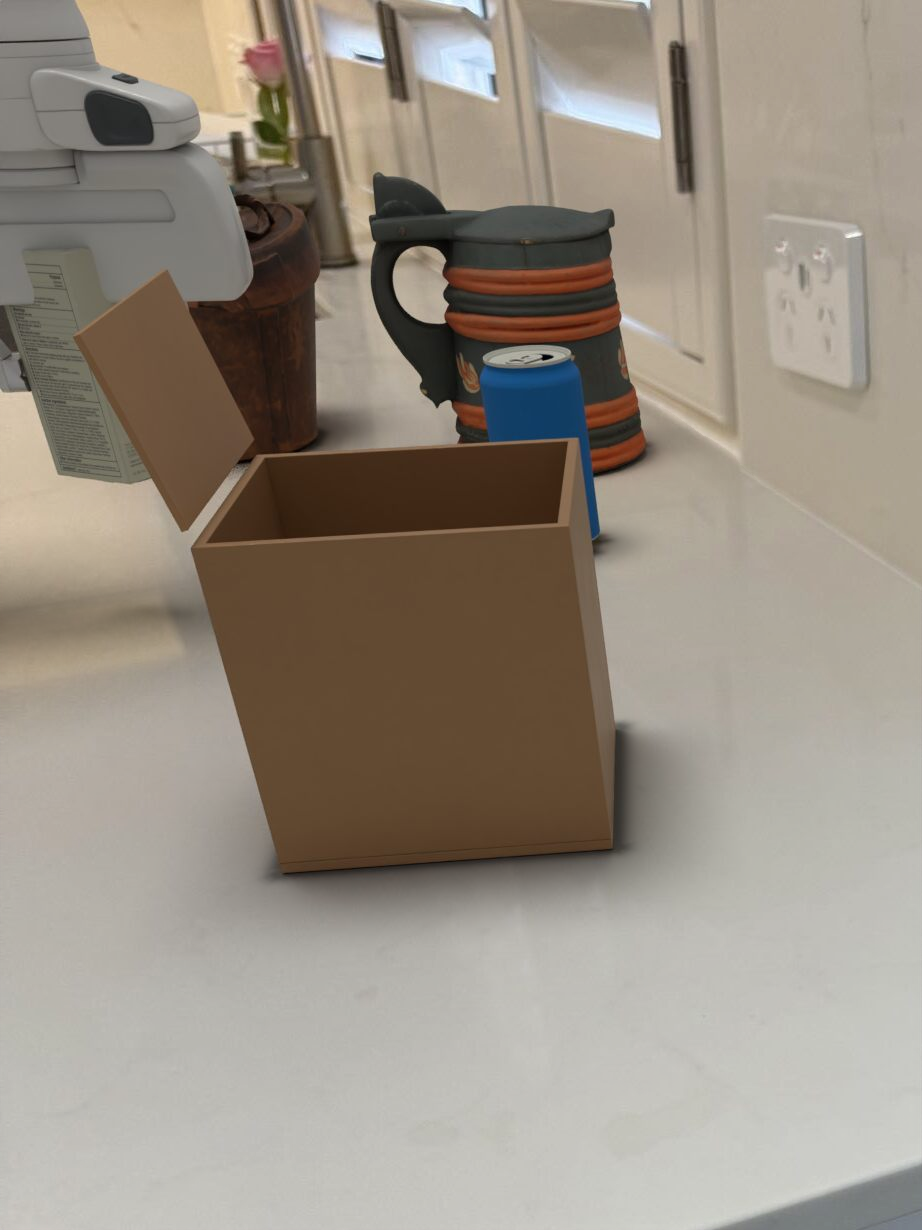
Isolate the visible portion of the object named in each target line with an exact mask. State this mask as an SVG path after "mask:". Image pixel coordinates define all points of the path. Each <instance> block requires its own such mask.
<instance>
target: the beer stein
mask: <svg viewBox="0 0 922 1230" xmlns="http://www.w3.org/2000/svg"><path fill="white" fill-rule="evenodd" d="M372 190H373V200H374V202H373V203H374V211H375V214H370V215H369V216H368V224H369V228H370V233H371V239H372V242H375V244H374V248H373V251H372V256H371V265H370V289H371V290H370V291H371V294H372V295H371V296H372V298H373V303H374V307H375V309H376V312H377V315H378V317H379V320H380V321H381V324H382V326H383V328H384V329H385V331H386V332H387V334H388V336H389V338H390V339H391V341H392V342H393V343H394V345H395V346H396V347H397V349H398V350H399V352H400V353H401V355H402V356H403V358H405V360H406V361H407V362H408V363H409V364H410V365H411V366H412V367H413V369H414V370H415V371H416V372H417V374H419V377H420V378H421V382H420V383H419V391H420V392H421V394H422V395H423V396H424V397H425V398H426V399H428V400H430V401H431V402H432V403H433V404H434V406H435V409H438V408H439V407H440V405H441V404H442V403H445V402H448V401H449V402H450V404H451V408H452V410H453V411H454V413H455V414H456V415H457V416H456V418H455V431H456V432H457V434H458V435H459V438H458V441H457V444H469V443H487V442H489V436H488V430H487V424H486V418H485V412H484V406H483V399H482V393H481V387H480V375H481V373H482V371H483V368H484V366H485V363H484V362H483V356H484V355H486V354H487V353H489V352H492V351H495V350H499V349H504V348H509V347H517V346H529V345H549V346H559V347H563V348H567V349H569V350H570V351H571V357H570V358H571V360H572V361H573V363H574V364H575V365H576V366H577V368H578V369H579V371H580V374H581V382H582V390H583V398H584V406H585V414H586V422H587V430H588V438H589V446H590V454H591V462H592V470H593V474H598V473H601V472H602V473H603V472H606V471H610V470H613V469H617V468H620V467H623V466H625V465H628V464H629V463H632V462H633V461H635V460H637V459H638V458H639V457H640V456H642V454H643V453H644V450H645V447H646V443H647V440H646V437H645V433H644V429H643V427H642V419H641V410H640V407H639V398H638V396H637V390H636V388H635V385H634V384H633V383H632V382H631V378H630V374H629V367H628V363H627V357H626V352H625V346H624V342H623V337H622V336H623V335H622V331H621V326H620V323H621V321H622V312H621V309H620V308H621V306H620V305H621V303H620V301H619V299H618V292H617V284H616V280H615V278H614V270H613V268H612V267H613V261H612V258H611V257H612V256H611V253H612V251H613V243H612V237H611V233H610V229H612V228H614V227H615V226H616V219H615V218H616V217H615V212H614V210H613V209H612V208H605V209H600V210H598V211H594V212H593V211H592V212H588V211H582V210H578V209H573V208H566V207H561V206H560V207H559V206H551V205H538V204H537V205H536V204H535V205H533V204H531V205H530V204H527V205H526V204H521V205H507V206H501V207H496V208H490V209H486V210H473V209H471V210H469V209H447V208H446V207H445V206H444V204H443V203H442V202H441V200H440V199H439V198H438V197H437V196H436V195H435V194H434V193H433V192H432V191H431V190H430V189H428V188H427V187H426V186H424V185H422V184H420V183H418V182H416V181H414V180H412V179H409V178H406V177H401V176H392V175H391V176H387V175H385V174H383V173H382V172H380V171H377V172H375V173H374V174H373V175H372ZM415 247H416V248H417V247H428V248H432V249H436V250H437V251H439V253H441V255H442V256H443V257H444V259H445V262H444V264H443V268H442V270H441V275H442V278H443V279H445V280H446V281H447V282H448V283H447V285H446V287H445V288H444V289H443V292H442V297H443V299H444V301H445V302H446V303H447V304H448V305H447V307H446V308H445V311H444V314H443V318H444V321H445V322H444V323H432V322H425V321H422V320H419V319H417V318H415V317H414V316H412V315H411V314H410V313H409V312H407V311H406V310H405V308H404V307H403V306H402V304H401V303H400V301H399V298H398V297H397V294H396V290H395V286H394V270H395V266H396V264H397V262H398V259H399V258H400V257H401V256H402V255H403V253H405V252H406V251H408V250H410V249H411V248H415Z"/></svg>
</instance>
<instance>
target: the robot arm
mask: <svg viewBox="0 0 922 1230" xmlns="http://www.w3.org/2000/svg"><path fill="white" fill-rule="evenodd" d="M88 27H89V26H88V24H87V22H86V20H85V18H84V15H83V14H82V12H81V10H80V8H79V6H78V4H77V2H76V0H0V306H4V305H30V304H32V303H33V302H34V289H33V286H32V283H31V280H30V277H29V274H28V271H27V268H26V265H25V262H24V259H23V256H22V254H21V251H28V250H49V249H72V248H86V249H89V248H90V249H91V251H92V255H93V259H94V262H95V266H96V270H97V273H98V277H99V281H100V285H101V289H102V291H103V293H104V295H105V298H106V299H107V301H108V302H110V303H118V302H120V301H121V300H122V299H124V298H125V297H127V296H128V295H129V294H131V293H132V292H133V291H135V290H136V289H137V288H139V287H140V286H141V285H143V284H144V283H146V282H147V281H148V280H150V279H151V278H152V277H154V276H155V275H156V274H158V273H159V272H160V271H162V270H165V269H167V270H168V272H169V273H170V275H171V277H172V279H173V281H174V283H175V285H176V287H177V289H178V291H179V293H180V295H181V297H182V299H183V301H184V303H185V305H186V307H187V309H188V305H187V301H231V300H235V299H237V298H239V297H240V296H241V295H242V294H243V293H244V292H245V291H246V289H247V288H248V286H249V285H250V283H251V281H252V278H253V265H252V260H251V255H250V251H249V247H248V243H247V239H246V236H245V232H244V229H243V225H242V222H241V219H240V215H239V212H238V211H239V208H238V206H236V203H235V200H234V197H233V196H234V195H233V193H232V189H231V187H230V184H229V182H228V179H227V176H226V174H225V173H224V170H223V169H222V167H221V165H220V164H219V162H218V161H217V159H215V157H214V156H213V154H211V153H210V152H209V151H208V150H206V148H204V147H203V146H200V145H199V144H197V143H194V142H192V141H193V140H195V139H197V137H198V136H199V134H200V133H201V128H202V125H201V124H202V123H201V115H200V112H199V108H198V105H197V103H196V101H195V100H194V98H193V97H191V96H190V95H189V94H187V93H185V92H183V91H180V90H178V89H175V88H172V87H168V86H166V85H162V84H161V83H156V82H153V81H150V80H147V79H144V78H141V77H138V76H135V75H132V74H128V73H126V72H123V71H120V70H117V69H115V68H111V67H109V66H106V65H102V64H100V63H99V62H98V61H97V58H96V54H95V50H94V45H93V42H92V38H91V33H90V30H89V28H88ZM188 311H189V309H188ZM0 390H1V392H2V393H3V394H5V393H8V394H10V393H11V394H13V393H31V389H30V386H29V382H28V379H27V376H26V373H25V370H24V367H23V363H22V360H21V358H20V355H19V353H13V352H12V351H11V349H10V348H9V347H8V346H7V344H5V342H4V341H3V339H1V338H0Z"/></svg>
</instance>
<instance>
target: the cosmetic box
mask: <svg viewBox="0 0 922 1230" xmlns="http://www.w3.org/2000/svg"><path fill="white" fill-rule="evenodd" d="M21 254H22V256H23V259H24V262H25V265H26V268H27V271H28V274H29V277H30V280H31V283H32V286H33V289H34V302H33V303H32V304H30V305H3V308H4V310H5V314H6V316H7V320H8V323H9V326H10V329H11V332H12V333H11V334H12V335H13V338H14V339H13V340H14V342H15V346H16V348H17V352H18V354H19V355H20V358H21V360H22V363H23V367H24V370H25V373H26V376H27V379H28V382H29V386H30V389H31V391H30V393H31V395H32V399H33V402H34V405H35V408H36V411H37V415H38V417H39V421H40V424H41V427H42V430H43V433H44V436H45V439H46V443H47V446H48V449H49V451H50V455H51V458H52V461H53V464H54V467H55V471H56V474H57V475H58V476H62V477H63V476H64V477H71V478H75V479H85V480H94V481H100V482H104V483H111V484H113V483H114V484H124V485H134V484H137V483H141V482H144V481H145V482H146V481H148V480H152V478H151V476H150V475H149V473H148V471H147V469H146V467H145V466H144V464H143V462H142V460H141V459H140V457H139V455H138V453H137V451H136V450H135V448H134V446H133V444H132V442H131V441H130V439H129V437H128V435H127V433H126V432H125V430H124V428H123V426H122V425H121V423H120V421H119V419H118V417H117V416H116V414H115V412H114V410H113V408H112V407H111V405H110V403H109V401H108V400H107V398H106V396H105V394H104V392H103V391H102V389H101V387H100V385H99V383H98V382H97V380H96V378H95V376H94V374H93V373H92V371H91V369H90V367H89V366H88V364H87V362H86V360H85V358H84V357H83V355H82V353H81V351H80V349H79V348H78V346H77V344H76V342H75V340H74V339H73V336H74V335H75V334H76V333H78V332H79V331H80V330H82V329H83V328H85V327H86V326H87V325H89V324H90V323H91V322H93V321H94V320H95V319H97V318H98V317H99V316H101V315H102V314H104V313H105V312H106V311H108V310H109V309H110V308H112V307H113V306H114V305H116V304H117V303H110V302H108V301H107V299H106V298H105V295H104V293H103V291H102V289H101V285H100V281H99V277H98V273H97V270H96V266H95V262H94V259H93V255H92V251H91V249H90V248H89V249H86V248H72V249H49V250H28V251H21Z"/></svg>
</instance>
